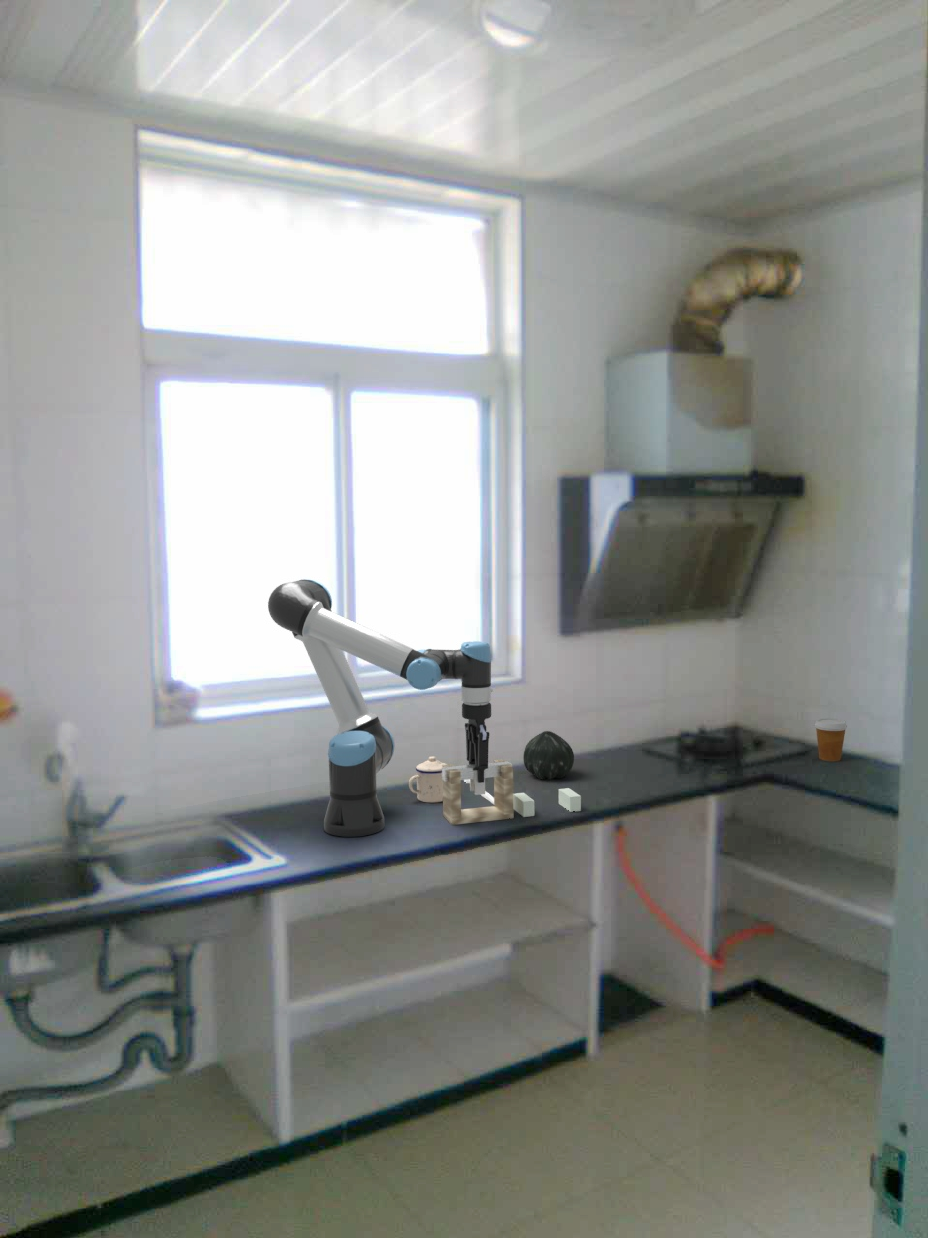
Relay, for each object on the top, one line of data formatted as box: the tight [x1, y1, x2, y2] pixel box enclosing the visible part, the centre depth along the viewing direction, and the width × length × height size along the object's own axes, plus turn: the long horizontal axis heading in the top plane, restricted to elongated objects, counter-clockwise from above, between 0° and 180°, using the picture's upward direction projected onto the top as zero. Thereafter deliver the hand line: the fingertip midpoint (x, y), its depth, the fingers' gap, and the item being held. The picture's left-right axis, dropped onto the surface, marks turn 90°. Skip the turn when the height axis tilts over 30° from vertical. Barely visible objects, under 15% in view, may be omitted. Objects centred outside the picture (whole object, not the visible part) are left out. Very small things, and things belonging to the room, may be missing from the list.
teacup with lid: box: [408, 756, 448, 803], centre depth 272 cm, size 12×9×12 cm
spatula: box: [463, 779, 494, 805], centre depth 279 cm, size 28×4×3 cm, turn 18°
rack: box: [442, 759, 514, 826], centre depth 255 cm, size 16×8×14 cm, turn 107°
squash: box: [523, 730, 575, 780], centre depth 294 cm, size 14×15×15 cm
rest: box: [513, 787, 582, 818], centre depth 261 cm, size 16×8×4 cm, turn 107°
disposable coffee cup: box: [814, 718, 848, 762], centre depth 309 cm, size 10×10×12 cm
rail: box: [442, 761, 513, 782], centre depth 255 cm, size 18×3×3 cm, turn 107°
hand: (477, 792), depth 255 cm, fingers closed on rail, 3 cm apart
